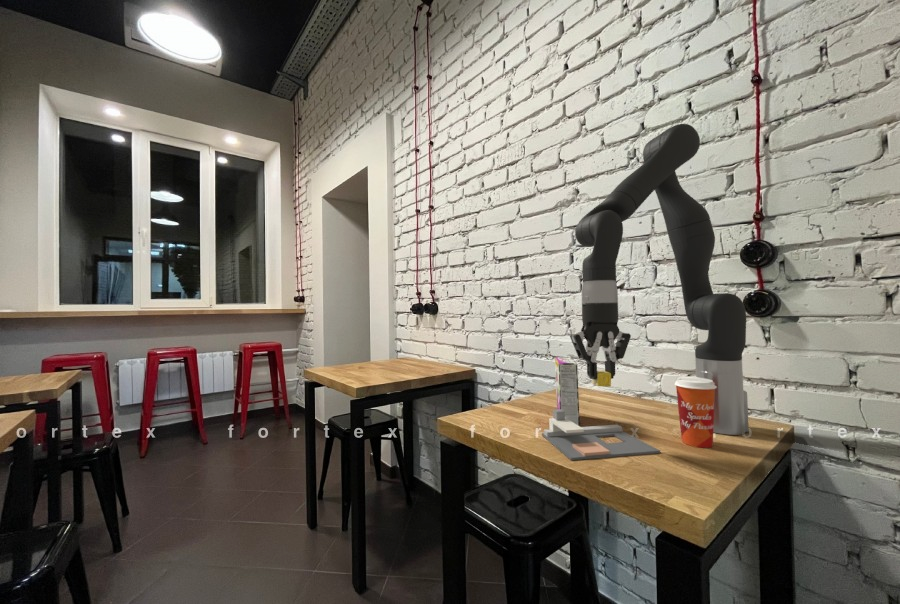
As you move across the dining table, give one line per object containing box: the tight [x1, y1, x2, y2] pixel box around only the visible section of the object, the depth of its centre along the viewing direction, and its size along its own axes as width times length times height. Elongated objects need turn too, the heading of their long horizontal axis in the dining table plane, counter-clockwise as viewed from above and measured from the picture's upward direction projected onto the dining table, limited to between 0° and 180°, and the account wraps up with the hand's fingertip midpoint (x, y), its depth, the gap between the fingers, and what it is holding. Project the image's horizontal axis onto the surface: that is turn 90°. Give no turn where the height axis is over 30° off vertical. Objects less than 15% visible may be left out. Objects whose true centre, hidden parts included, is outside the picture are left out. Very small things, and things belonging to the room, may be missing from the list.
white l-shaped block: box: [548, 408, 584, 433], centre depth 81 cm, size 4×9×5 cm, turn 8°
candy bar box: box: [554, 356, 581, 427], centre depth 96 cm, size 11×5×16 cm, turn 168°
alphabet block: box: [591, 370, 612, 387], centre depth 79 cm, size 3×3×3 cm
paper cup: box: [673, 376, 717, 449], centre depth 78 cm, size 8×8×14 cm
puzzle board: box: [541, 424, 661, 461], centre depth 79 cm, size 20×15×2 cm
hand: (601, 378), depth 79 cm, fingers closed on alphabet block, 3 cm apart
